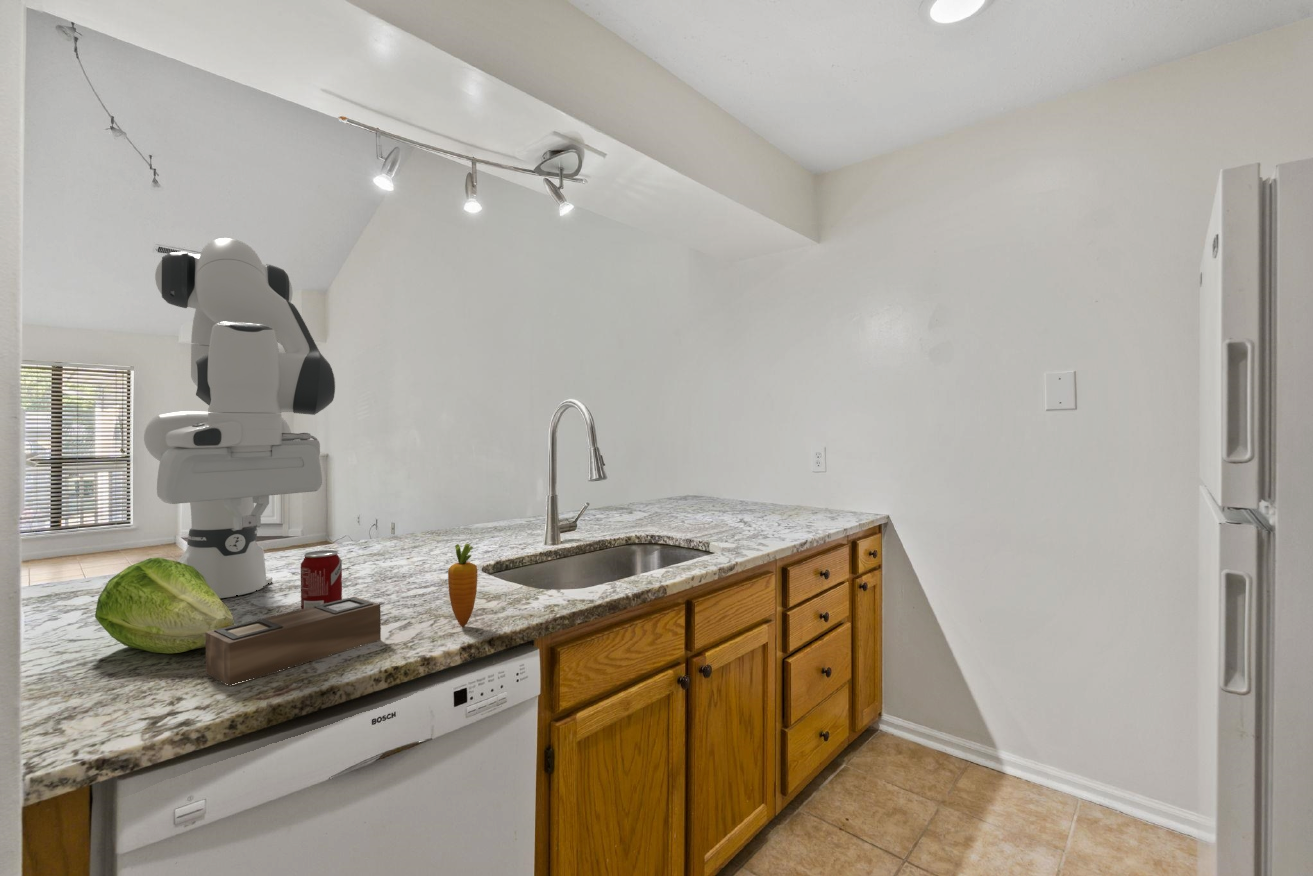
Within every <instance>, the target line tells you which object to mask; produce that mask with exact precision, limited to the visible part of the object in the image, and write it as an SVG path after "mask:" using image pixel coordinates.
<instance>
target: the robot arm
mask: <svg viewBox="0 0 1313 876" xmlns="http://www.w3.org/2000/svg"><path fill="white" fill-rule="evenodd" d="M154 275H155V276H154V278H155V280H154V281H155V285H156V287H157V289H158V291H159V293H160V294H161V298H162V299H163V300H164V301H165V302H166V303H167V304H169V305H172V306H175V307H178V308H183V309H188V308H192V309H194V314H193V315H194V316H193V319H192V320H193V321H192V325H191V326H192V327H191V339H190V342H191V346H190V354H191V355H190V378H191V380H192V382H193V383H194V385H195V386H196V392H195V396H196V397H197V398H199V399H200V400H201V401H202V402H203V403H205V404H207V406H208V409H207V410H182V411H172V412H166V413H160V414H156V415H155V416H154V417H152V419H151V420H150V421H149V422H148V424H147V425H146V427H145V430H144V434H143V441H144V445H145V448H146V449H147V452H149V454H150V455H151V456H152V457H153V458H155V459H156V460H158V462H159V465H158V471H157V479H156V494H157V497H158V498H159V499H160V500H161V501H162V502H163V503H166V504H170V505H176V504H177V505H178V504H187V503H190V505H189V506H190V516H191V518H190V519H191V520H190V521H191V527H190V528H189V530H188V534H187V542H186V545H188V547H187V549H185V550H184V552H183V554H182V555H181V556H180V557H179V559H178V560H176V561H177V562H180V563H183V564H186V565H189V566H192V567H194V568H195V569H196V570H197V571H198V572H199V573H200V574H201V575H202V576H203V577H204V579H205V581H206V583H207V584H208V585H209V587H210V588H211V589H212V590H213V591H214V592H215V593H216V594H217V596H218V597H219V598H220V599H224V598H226V599H227V598H232V597H237V596H236V595H238V596H242V595H247V594H250V593H254V592H256V590H257V591H259V590H261V589H263V588H264V587H266V585H269V584H271V582H272V581H273V577H270V576H267V572H266V562H265V552H264V551H265V550H264V547H263V546H261V545H259V544H258V543H257V540H258V528H261V525H262V522H261V521H262V519H261V517H262V515H263V514H264V513H265V510H266V509H267V508H268V506H269V504H270V496H278V495H280V496H281V495H289V494H300V493H311V492H318V491H319V490H320V488H321V487H322V485H323V474H322V467H321V462H320V454H321V443H320V441H319V440H318V438H317V437H315V436H313V435H311V433H308V432H299V433H294V432H293V433H292V432H291V428H290V425H289V424H288V422H287V420H286V419H285V418H284V417H282V416H283V415H282V413H293V414H299V415H301V414H302V415H312V416H315V415H316V414H319V413H320V412H321V411H324V409H326V408H327V407H328V406H329V405H330V404H331V403H332V402H333V401H334V399H335V395H336V378H335V374H334V371H333V369H332V368H333V367H331V364H330V363H329V361H328V360H327V359H326V358H325V357H324V355H323V354H322V353H321V351H320V349H319V347H318V346H317V344H316V341H315V340H314V337H313V336H312V334H311V332H310V330H309V328H308V326H307V324H306V322H305V321H304V319H303V316H302V315H301V313H300V312H299V310H298V309H297V307H296V305H295V304H293V303H292V299H293V287H292V283H291V281H290V277H289V275H288V273H286V271H285V270H284V269H283V268H280V267H278V266H276V265H272V264H269V263H266V264H263V263H262V260H261V259H260V257H259V255H258V253H257V252H256V251H255V250H254V249H253V248H252V247H251V246H249V245H248V244H247V243H245V242H243V241H240V240H237V239H234V238H228V237H224V238H223V237H222V238H217V239H214V240H211V241H210V242H208V243H207V244H206V245H205V246H204V247H203V248H202V249H201V252H200V253H199V254H198V253H190V252H187V251H177V252H176V251H175V252H169V253H167V254H165V255H163V256H162V257H161V259H160V261H159V262H158V264H157V266H156V270H155V274H154ZM278 344H279V345H281V346H282V348H283V350H284V352H280V351H279V350H280V349H279V345H278ZM273 582H274V581H273ZM273 582H272V583H273ZM268 583H269V584H268ZM263 586H264V587H263Z"/></svg>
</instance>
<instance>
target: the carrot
mask: <svg viewBox="0 0 1313 876" xmlns="http://www.w3.org/2000/svg"><path fill="white" fill-rule="evenodd" d="M454 548H455V553H456V554H455V555H456V558H457V560H458V562H455V563H453V564H452V565H451V566H449V567H448V569H447V570H448V571H447V576H448V577H447V578H448V593H449V596H448V597H449V599H450V604H451V609H452V611H453V615H454V616H455V619H456V620H457V622H458V625H460V626H461V627H462V628H464V627H466V625H467V624H468V623H469V620H470V618H471V616H472V614H473V611H474V607H475V602H476V597H477V590H478V589H477V588H478V567H477V565H476V564H475V563H473V562H471V561H468V560H470V558H471V557H472V555H471V554H469V553H470V552H471V551H472V550H473V549H474V546H473V545H471V546H470V543H465V544H464V546H463V549H461V546H460V544H459V543H457V544H455V545H454Z"/></svg>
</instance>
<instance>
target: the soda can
mask: <svg viewBox="0 0 1313 876" xmlns="http://www.w3.org/2000/svg"><path fill="white" fill-rule="evenodd" d="M338 553H339V551H338V550H336V549H322V550H320V549H319V550H313V551H309V552H305V553H304V555H303V556H304V558H303V560H302V562H301V563H300V609H304V608H309V607H313V606H317V605H321V604H325V603H330V602H334V601H338V600H342V599H343V571H342V570H343V567H342V566H343V560H342V559H341V557H340V556H339V555H338Z"/></svg>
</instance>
